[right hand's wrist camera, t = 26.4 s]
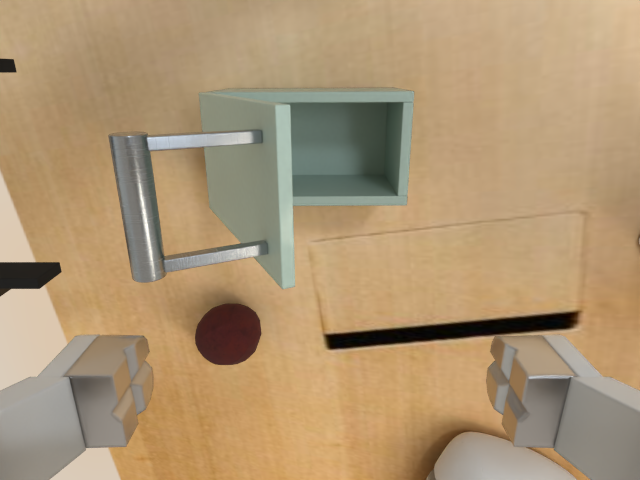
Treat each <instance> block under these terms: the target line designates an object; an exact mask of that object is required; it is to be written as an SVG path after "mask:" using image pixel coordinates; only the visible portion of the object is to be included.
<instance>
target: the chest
mask: <svg viewBox="0 0 640 480" xmlns="http://www.w3.org/2000/svg"><path fill="white" fill-rule="evenodd" d="M208 93H215V94H222V95H229V96H235V97H242V98H249V99H256V100H262V101H269V102H276V103H283V104H289V105H290V116H291V153H292V190H293V206H354V205H407V194H408V179H409V164H410V149H411V133H412V118H413V101H414V91H409V90H404V89H399V88H240V89H223V90H217V91H210V92H208Z"/></svg>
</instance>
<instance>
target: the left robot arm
mask: <svg viewBox="0 0 640 480" xmlns="http://www.w3.org/2000/svg"><path fill="white" fill-rule="evenodd" d="M0 72H16V68H15V63H14V59H0ZM59 273H61V267H60V263H59V262H16V263H15V262H13V263H12V262H10V263H9V262H8V263H7V262H5V263H4V262H0V296H1V295H3V294H4V293H6V292H7V291H9V290H10V289H40V288H41V287H42V286H44V285H45V284H46V283H48V282H49V281H50V280H52V279H53V278H54V277H55V276H57V275H58V274H59Z"/></svg>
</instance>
